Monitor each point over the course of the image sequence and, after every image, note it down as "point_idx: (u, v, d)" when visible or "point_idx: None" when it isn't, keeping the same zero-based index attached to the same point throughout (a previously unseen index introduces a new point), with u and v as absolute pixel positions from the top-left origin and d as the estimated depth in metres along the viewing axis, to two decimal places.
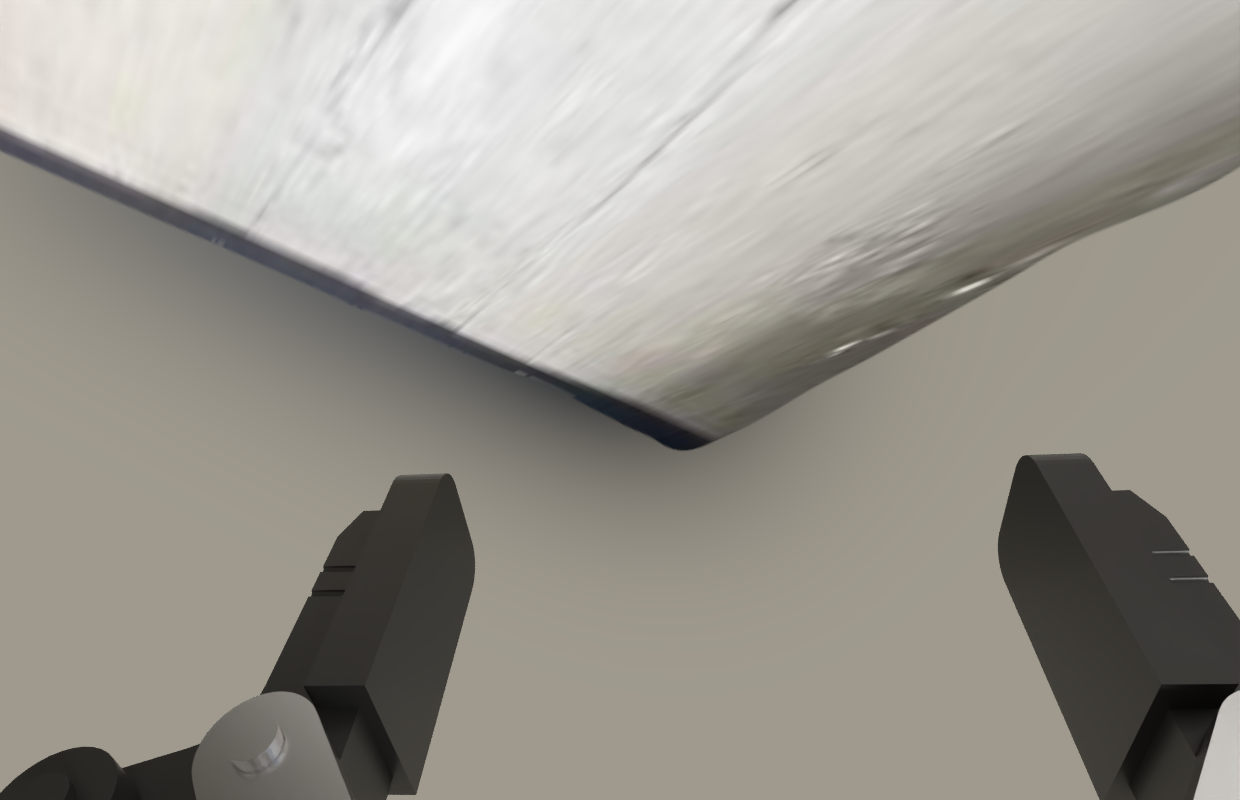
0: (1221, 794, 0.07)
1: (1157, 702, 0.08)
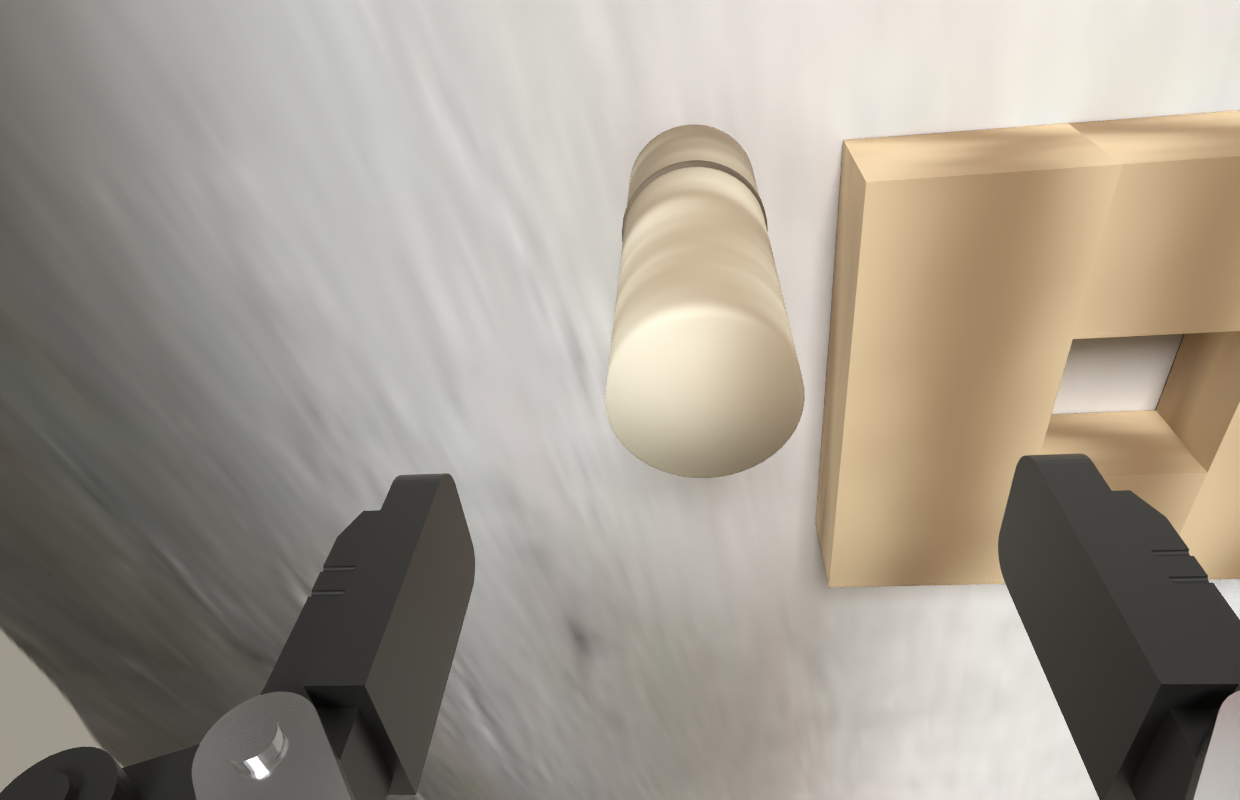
0: (1221, 794, 0.07)
1: (1157, 702, 0.08)
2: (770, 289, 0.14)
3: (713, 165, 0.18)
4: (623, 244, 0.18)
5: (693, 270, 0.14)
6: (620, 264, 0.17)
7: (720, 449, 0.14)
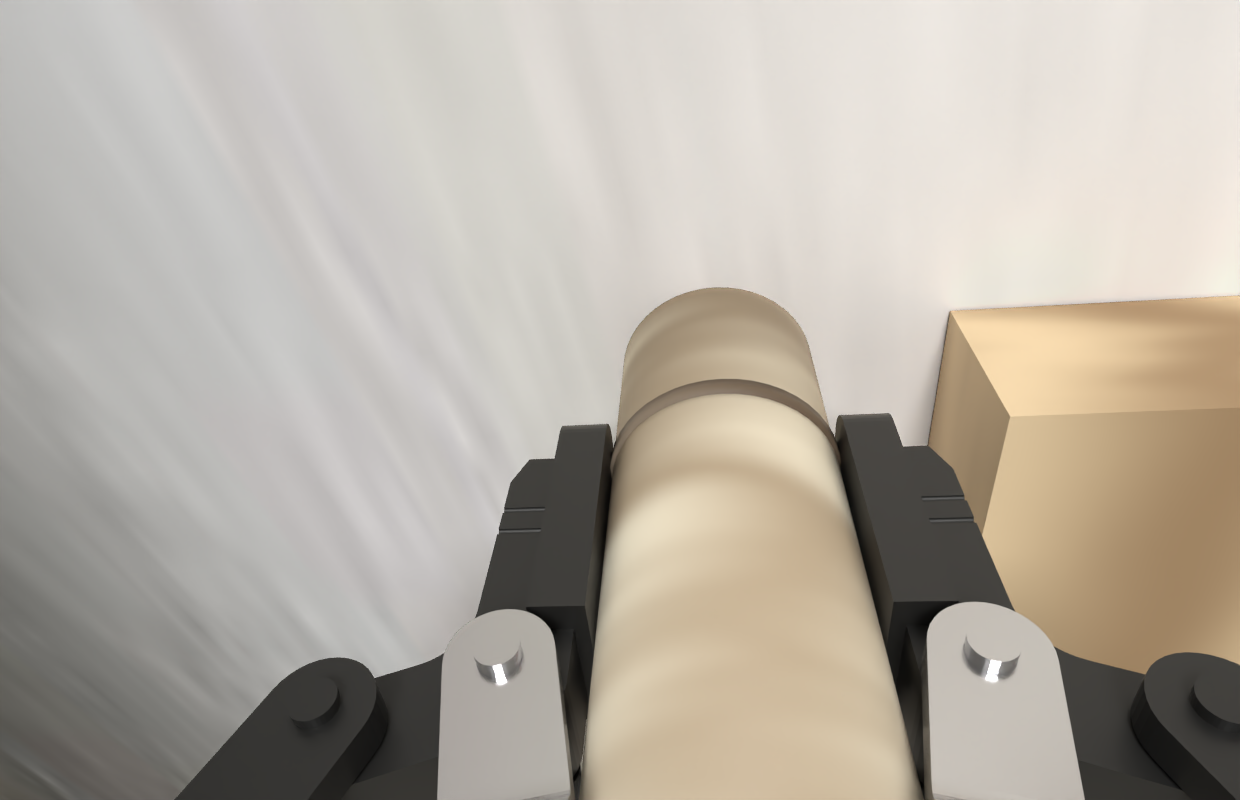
0: (948, 716, 0.07)
1: (895, 619, 0.09)
2: (892, 755, 0.07)
3: (758, 390, 0.11)
4: (608, 532, 0.11)
5: (739, 745, 0.07)
6: (601, 580, 0.10)
7: None
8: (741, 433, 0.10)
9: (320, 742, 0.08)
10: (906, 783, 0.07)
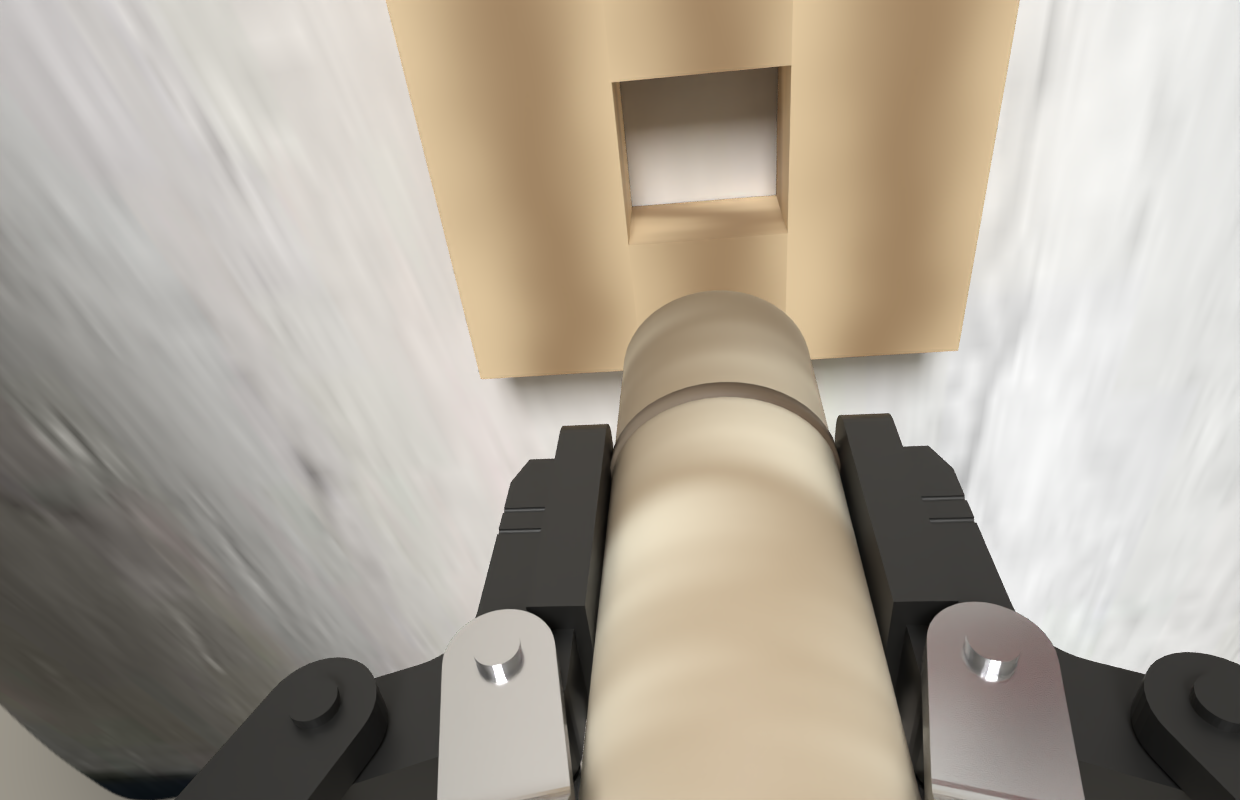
0: (947, 716, 0.07)
1: (896, 619, 0.09)
2: (890, 758, 0.07)
3: (757, 393, 0.11)
4: (607, 535, 0.11)
5: (739, 749, 0.07)
6: (601, 583, 0.10)
7: None
8: (740, 436, 0.10)
9: (321, 742, 0.08)
10: (904, 787, 0.07)
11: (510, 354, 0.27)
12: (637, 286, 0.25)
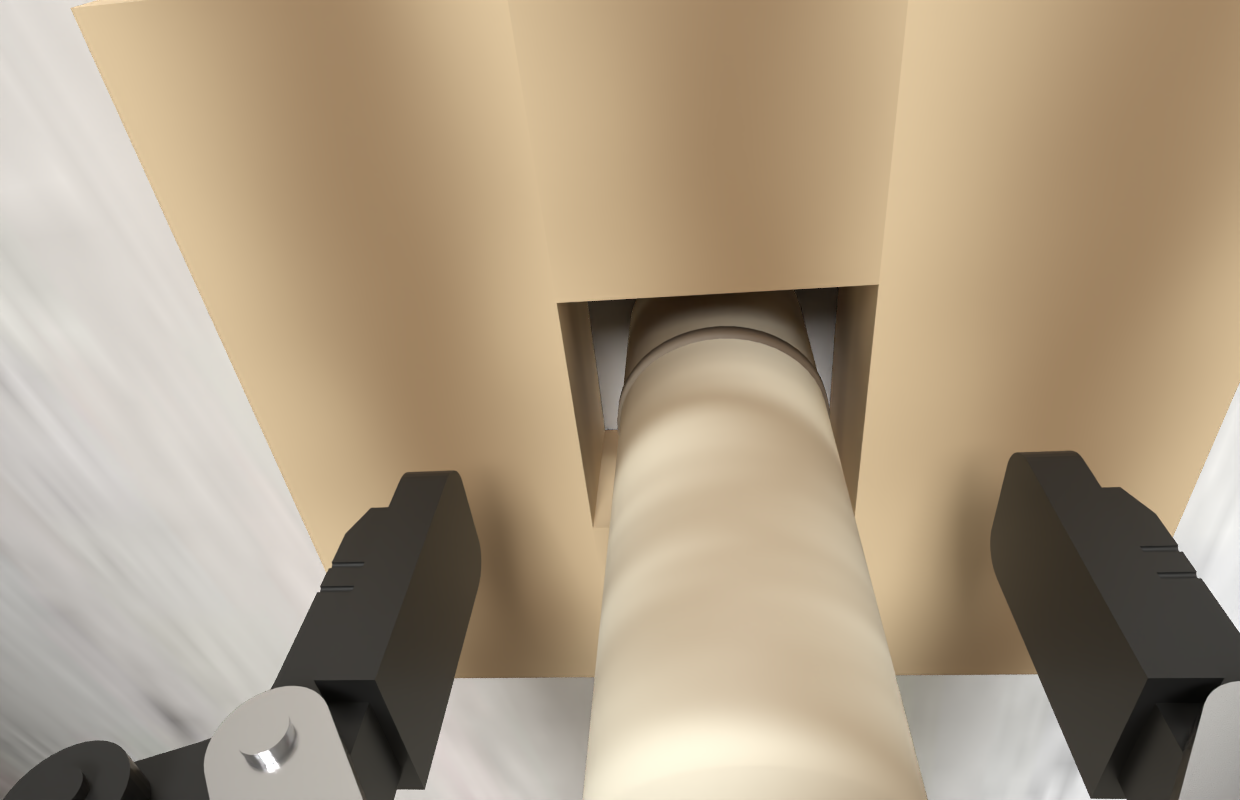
0: (1208, 788, 0.07)
1: (1145, 696, 0.08)
2: (864, 622, 0.08)
3: (752, 336, 0.12)
4: (617, 461, 0.12)
5: (733, 608, 0.08)
6: (612, 501, 0.11)
7: None
8: (737, 370, 0.11)
9: None
10: (876, 645, 0.08)
11: None
12: None
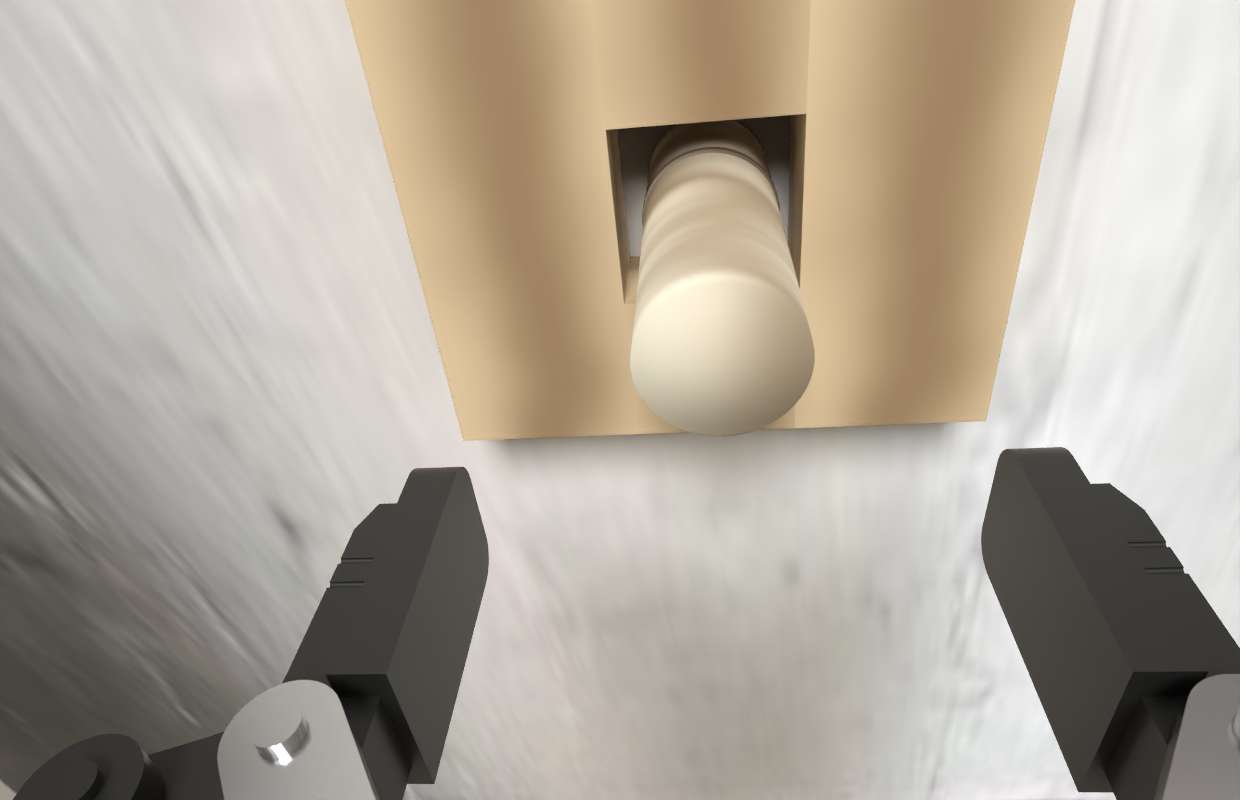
0: (1192, 781, 0.07)
1: (1130, 689, 0.08)
2: (783, 260, 0.15)
3: (728, 151, 0.19)
4: (644, 225, 0.19)
5: (711, 242, 0.15)
6: None
7: (736, 408, 0.15)
8: (718, 165, 0.19)
9: None
10: (788, 270, 0.15)
11: (495, 415, 0.25)
12: None
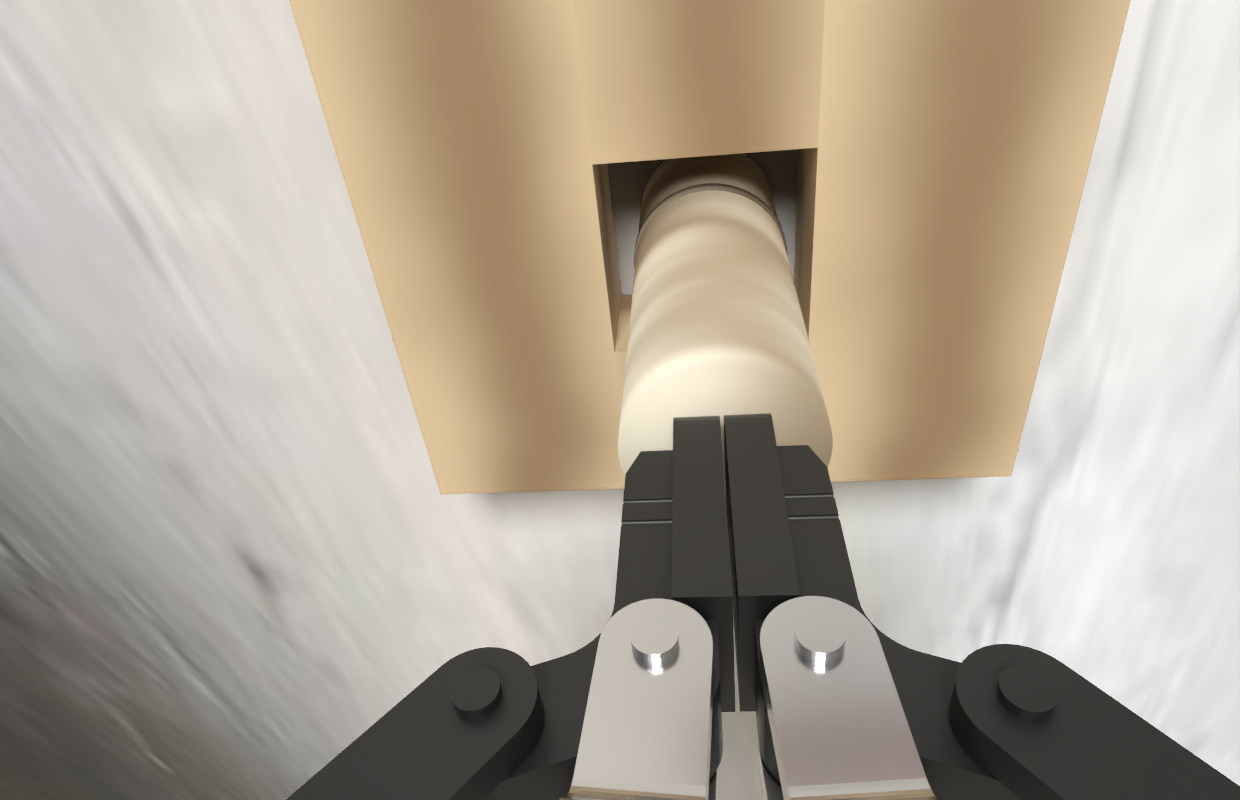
0: (792, 719, 0.07)
1: (743, 613, 0.09)
2: (794, 326, 0.13)
3: (730, 188, 0.17)
4: (635, 272, 0.17)
5: (711, 307, 0.13)
6: None
7: None
8: (719, 206, 0.16)
9: (488, 733, 0.08)
10: (801, 338, 0.13)
11: (474, 468, 0.22)
12: None
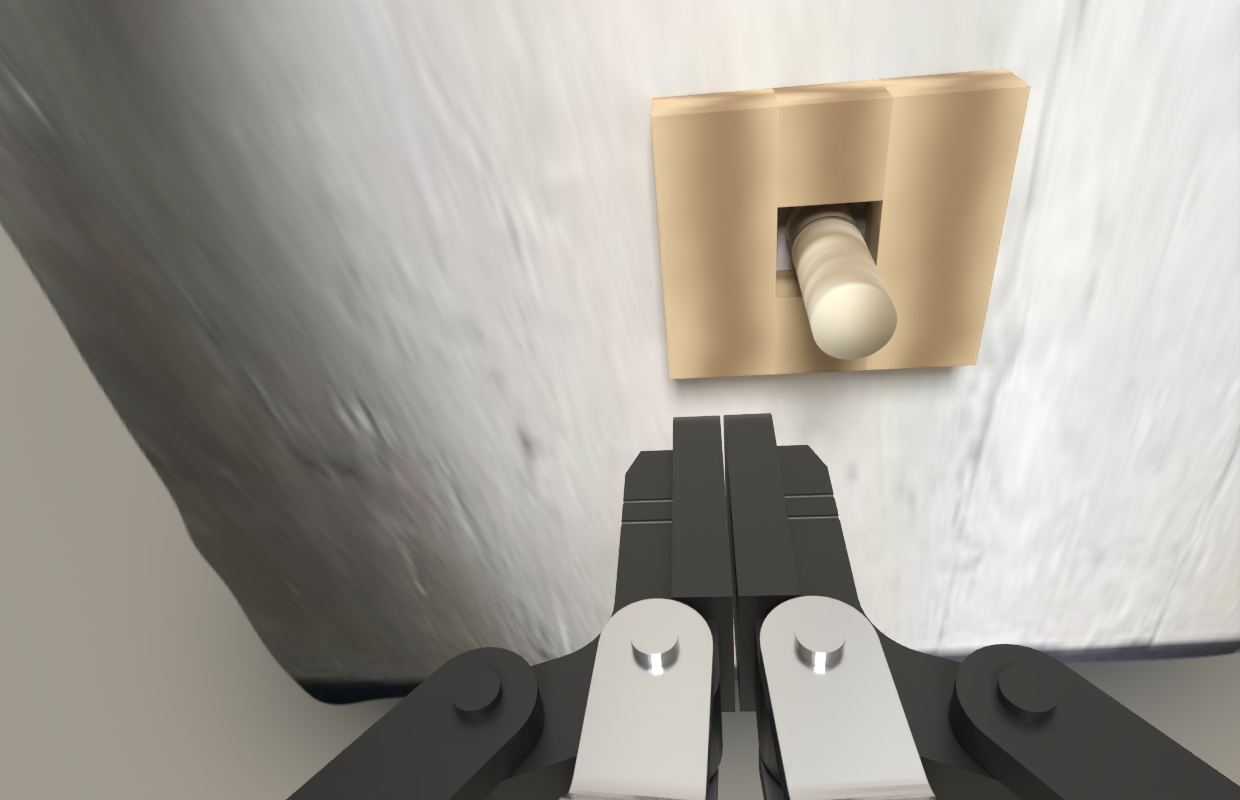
0: (792, 719, 0.07)
1: (743, 613, 0.09)
2: (879, 277, 0.33)
3: (841, 218, 0.37)
4: (799, 257, 0.37)
5: (848, 269, 0.33)
6: (800, 267, 0.36)
7: (859, 345, 0.33)
8: (838, 227, 0.36)
9: (488, 732, 0.08)
10: (882, 282, 0.33)
11: (691, 363, 0.42)
12: (777, 322, 0.40)
